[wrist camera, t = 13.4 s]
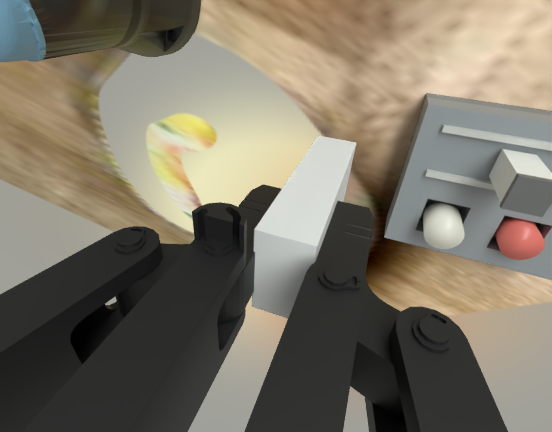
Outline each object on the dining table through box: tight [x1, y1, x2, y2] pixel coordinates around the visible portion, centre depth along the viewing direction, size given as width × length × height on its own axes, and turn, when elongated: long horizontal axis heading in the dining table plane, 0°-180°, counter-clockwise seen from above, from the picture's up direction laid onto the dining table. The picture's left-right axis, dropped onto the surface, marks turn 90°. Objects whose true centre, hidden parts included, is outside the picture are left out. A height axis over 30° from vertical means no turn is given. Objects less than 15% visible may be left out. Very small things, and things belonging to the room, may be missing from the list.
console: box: [384, 93, 552, 280], centre depth 36 cm, size 19×17×6 cm
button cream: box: [423, 201, 465, 249], centre depth 37 cm, size 4×4×4 cm
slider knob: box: [489, 149, 552, 217], centre depth 30 cm, size 3×3×7 cm
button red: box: [494, 216, 545, 260], centre depth 36 cm, size 4×4×4 cm
